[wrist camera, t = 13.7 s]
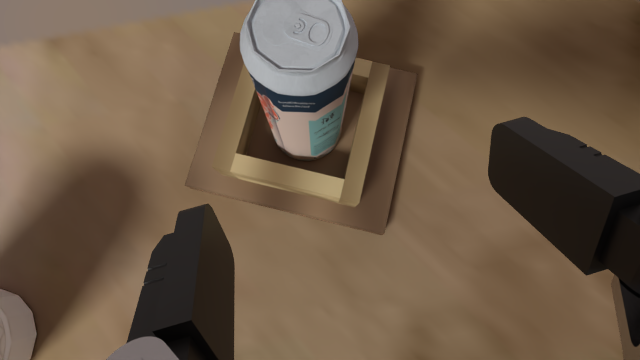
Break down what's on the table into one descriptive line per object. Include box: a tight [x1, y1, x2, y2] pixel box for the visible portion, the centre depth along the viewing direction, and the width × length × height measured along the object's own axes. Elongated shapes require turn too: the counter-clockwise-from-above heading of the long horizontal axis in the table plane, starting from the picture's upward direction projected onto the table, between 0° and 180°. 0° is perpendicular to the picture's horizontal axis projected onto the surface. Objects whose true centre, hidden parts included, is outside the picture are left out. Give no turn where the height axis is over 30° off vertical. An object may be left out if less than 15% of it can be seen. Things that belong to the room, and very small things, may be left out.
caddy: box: [185, 32, 417, 235], centre depth 24 cm, size 14×12×4 cm
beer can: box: [240, 0, 358, 161], centre depth 19 cm, size 5×5×12 cm
